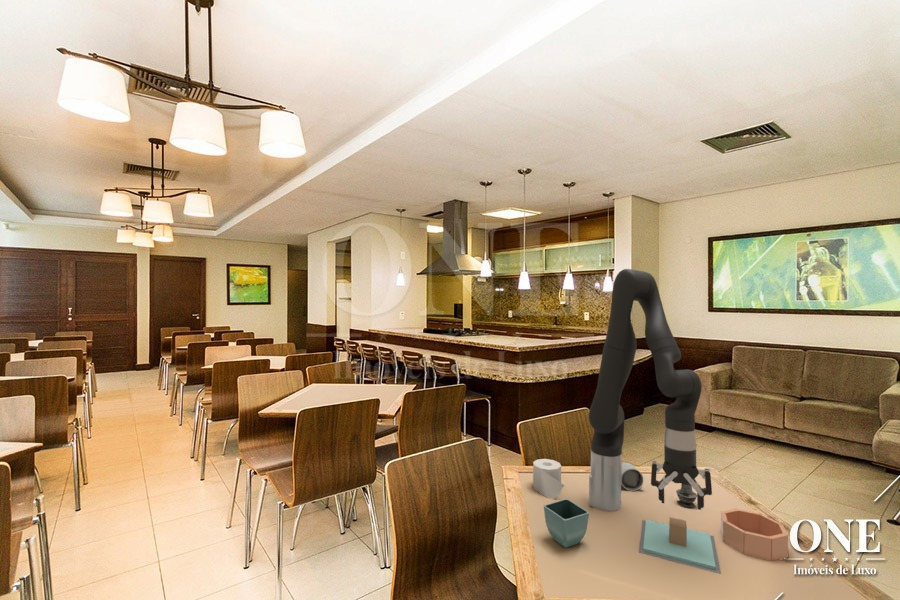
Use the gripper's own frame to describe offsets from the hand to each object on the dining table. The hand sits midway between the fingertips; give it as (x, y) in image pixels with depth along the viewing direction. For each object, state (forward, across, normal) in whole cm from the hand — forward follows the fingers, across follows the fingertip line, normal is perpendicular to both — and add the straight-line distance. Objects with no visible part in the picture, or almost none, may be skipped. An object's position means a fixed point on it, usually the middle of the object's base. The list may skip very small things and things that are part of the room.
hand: (680, 505), depth 114 cm
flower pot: (+11, +28, +12) cm, 32 cm away
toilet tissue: (+10, +39, -16) cm, 44 cm away
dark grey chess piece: (+11, -3, -27) cm, 29 cm away
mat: (+11, +1, 0) cm, 11 cm away
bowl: (+11, -17, -9) cm, 23 cm away
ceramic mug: (+11, +16, -32) cm, 37 cm away
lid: (+10, +1, 0) cm, 10 cm away
